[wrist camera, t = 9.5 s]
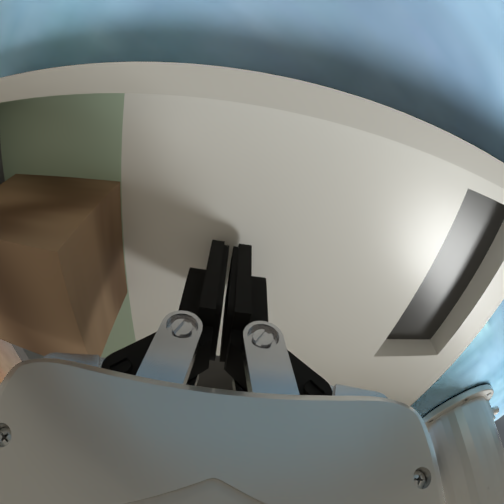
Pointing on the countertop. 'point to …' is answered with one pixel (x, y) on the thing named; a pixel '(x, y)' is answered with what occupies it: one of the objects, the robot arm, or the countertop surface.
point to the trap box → (278, 208)
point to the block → (60, 263)
